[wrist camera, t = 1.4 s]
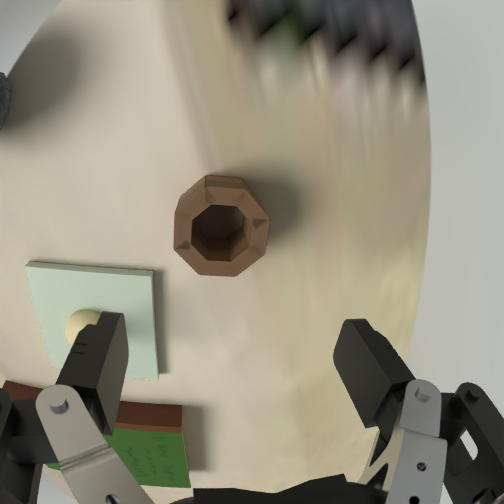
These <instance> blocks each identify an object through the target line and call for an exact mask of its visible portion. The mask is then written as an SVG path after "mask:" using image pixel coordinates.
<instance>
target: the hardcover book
mask: <svg viewBox="0 0 504 504" xmlns="http://www.w3.org/2000/svg"><path fill="white" fill-rule="evenodd" d="M2 389H3V390H5V391H6V392H7V393H8V394H9V395H10V397H11V399H12V400H29V399H37V397H38V395H39V394H40V393H41V391H43V390H44V389H40V388H36V387H31V386H27V385H23V384H18V383H14V382H11V381H7V380H6V381H5V383H4V385H3V387H2ZM103 437H104V439H105V441H106V442H107V444H108V445H109V446H111V447H112V448H113V449H114V451H115V452H116V453H117V455H118V456H119V458H120V459H121V460H122V462H123V463H124V465H125V466H126V467H127V469H128V470H129V472H130V473H131V474H132V476H133V477H134V478H135V480H136V481H137V482H138V483H139V485H148V486H160V487H178V488H191V485H190V479H189V470H188V464H187V458H186V451H185V444H184V437H183V430H182V405H166V404H149V403H136V402H125V401H120V402H119V407H118V412H117V417H116V422H115V427H114V433H113V436H109V435H103ZM46 465H47V466H48V467H49V468H52V469H56V470H60V467H59V466H60V463H50V464H46ZM60 471H61V470H60Z"/></svg>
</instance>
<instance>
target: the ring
mask: <svg viewBox="0 0 504 504" xmlns="http://www.w3.org/2000/svg"><path fill="white" fill-rule="evenodd" d="M211 204H213V205H227V206H237V207H238V208H239V210H240V211H241V212H242V213H243V214H244V219H243V227H242V228H240V229H239V230H238V231H237V232H235V233H234V234H233V235H232V236H230V237H229V238H228V239H212V238H206V237H205V236H204V235H203V234H202V233H201V232H200V231H199V229H198V228H197V227H196V226H195V225H194V224H193V219H194V218H196V217H197V216H198V215H199V214H200V213H201V212H203V211H204V210H205V209H206V208H207V207H209V206H210V205H211ZM269 223H270V218H269V217H268V215H267V213H266V212H265V210H264V208H263V207H262V205H261V204H260V202H259V201H258V200H257V198H256V197H255V196H254V195H253V193H252V192H251V191H250V190H249V189H248V187H247V186H246V185H245V184H244V183H243V181H242V180H241V179H239V178H237V177H225V176H212V175H206V176H204V177H203V178H202V179H200V180H199V181H198V182H197V183H196V184H194V185H193V186H192V187H191V188H190V189H189V190H187V191H186V192H185V193H184V194H183V195H182V196H181V197H180V199H179V202H178V205H177V208H176V211H175V220H174V250H175V251H176V252H177V253H178V254H179V255H180V256H181V257H182V258H183V259H184V260H185V261H186V262H187V263H188V264H189V265H190V266H191V267H192V268H193V269H194V270H195V271H196V272H197V273H198V274H200V275H210V276H229V277H235V276H237V275H239V274H240V273H241V272H243V271H244V270H245V269H247V268H248V267H249V266H251V265H252V264H253V263H254V262H256V261H257V260H258V259H260V258H261V257H262V256H264V254H265V250H266V243H267V237H268V230H269Z"/></svg>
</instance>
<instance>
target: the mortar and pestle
mask: <svg viewBox="0 0 504 504" xmlns="http://www.w3.org/2000/svg"><path fill="white" fill-rule="evenodd" d="M10 97H11V87H10V85H9V83H8V81H7V78H6V76H5V74H4V73H1V72H0V128H1V126H2V124H3V122H4V120H5V118H6V117H7V115H8V113H9V108H10Z"/></svg>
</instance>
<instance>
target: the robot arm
mask: <svg viewBox="0 0 504 504" xmlns="http://www.w3.org/2000/svg"><path fill="white" fill-rule="evenodd" d="M128 359H129V347H128V340H127V332H126V324H125V317H124V314H123V313H118V312H107V311H102V313H101V315H100V317H99V319H98V321H97V324H96V325H94V324H87V325H86V326H85V327H84V328H83V329H82V330H81V331H79V332H78V334H77V337H76V339H75V341H74V345H72V347H71V349H70V353H69V354H68V356H67V358H66V361H65V363H64V365H63V368H62V370H61V372H60V375H59V377H58V379H57V382H56V384H55V385H52V386H49V387H47V388H45V389H44V390H43V391H41V393H40V394H39V395H38V397H37V399H29V400H12V399H11V397H10V395H9V394H8V393H7V392H6V391H5V390H3V389H1V388H0V504H37V496H38V490H39V484H40V478H41V473H42V467H43V464H50V463H60V466H59V467H60V470H61V472H62V474H63V476H64V478H65V480H66V482H67V484H68V486H69V488H70V489H71V491H72V493H73V495H74V496H75V498H76V500H77V502H78V503H79V504H155V503H154V502H153V501H152V500H151V498H150V497H149V496H148V495H147V494H146V492H145V491H144V490H143V489H142V487H141V486H140V485H139V483H138V482H137V481H136V480H135V478H134V477H133V476H132V474H131V473H130V472H129V470H128V469H127V467H126V466H125V465H124V463H123V462H122V460H121V459H120V458H119V456H118V455H117V453H116V452H115V451H114V449H113V448H112V447H111V446H109V445H108V444H107V442H106V441H105V439H104V437H103V435H109V436H113V433H114V427H115V422H116V417H117V412H118V407H119V402H120V397H121V392H122V387H123V383H124V378H125V374H126V370H127V365H128ZM333 360H334V364H335V367H336V369H337V371H338V373H339V375H340V377H341V379H342V381H343V383H344V385H345V387H346V389H347V391H348V393H349V395H350V397H351V399H352V401H353V403H354V405H355V408H356V410H357V412H358V414H359V416H360V418H361V420H362V422H363V424H364V426H365V428H370V427H374V426H378V428H379V431H378V432H377V434H376V436H375V439H374V443H373V446H372V449H371V452H370V455H369V458H368V461H367V464H366V467H365V469H364V472H363V474H362V476H361V478H360V479H359V481H358V482H357V483H355V482H347V480H346V478H345V475H344V474H339V475H334V476H329V477H324V478H319V479H313V480H309V481H307V482H304V483H302V484H299V485H297V486H294V487H291V488H289V489H286V490H283V491H281V492H278V493H265V492H256V491H249V490H242V489H236V488H193V494H194V497H189V498H184V499H181V500H178V501H175V502H173V503H170V504H439V503H440V497H441V492H442V485H443V483H444V485H445V487H446V489H447V491H448V493H449V496H450V498H451V500H452V502H453V504H504V418H503V417H502V416H501V414H500V413H499V411H498V410H497V408H496V407H495V406H494V404H493V403H492V401H491V400H490V399H489V397H488V396H487V395H486V393H485V392H484V391H483V389H481V388H480V387H479V386H477V385H475V384H473V383H469V382H466V383H463V384H461V385H460V386H459V387H458V389H457V390H456V392H455V393H440V391H439V390H438V388H437V387H436V386H435V385H433V384H432V383H430V382H428V381H426V380H421V379H416V378H415V377H414V376H413V374H412V373H411V371H410V370H409V369H408V367H407V366H406V364H405V363H404V362H403V360H402V359H401V357H400V356H398V353H397V352H396V351H395V349H393V346H392V345H391V344H390V342H389V341H388V340H387V338H386V337H384V336H383V335H382V334H380V333H379V332H378V331H374V329H373V328H372V327H371V325H370V324H369V323H368V321H367V320H366V319H346V320H345V321H344V323H343V325H342V328H341V331H340V334H339V337H338V340H337V343H336V346H335V349H334V354H333ZM466 430H467V431H468V432H469V434H470V436H471V437H472V439H473V440H474V442H475V444H476V446H477V449H478V454H477V457H476V458H475V459H474V460H472V458H471V456H470V454H469V452H468V451H467V449H466V447H465V445H464V444H463V442H462V440H461V438H460V437H461V436H462V434H463V433H464V432H465V431H466Z"/></svg>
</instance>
